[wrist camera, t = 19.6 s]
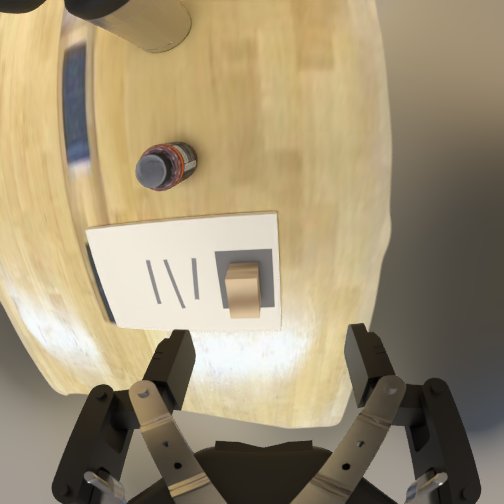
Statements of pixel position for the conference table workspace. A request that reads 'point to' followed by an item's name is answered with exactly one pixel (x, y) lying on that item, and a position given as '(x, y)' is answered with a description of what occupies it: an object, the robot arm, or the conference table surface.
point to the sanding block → (243, 289)
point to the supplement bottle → (166, 165)
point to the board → (186, 270)
